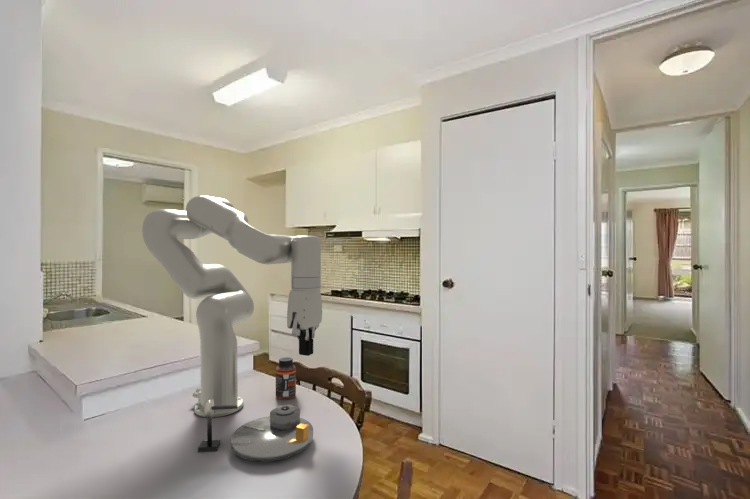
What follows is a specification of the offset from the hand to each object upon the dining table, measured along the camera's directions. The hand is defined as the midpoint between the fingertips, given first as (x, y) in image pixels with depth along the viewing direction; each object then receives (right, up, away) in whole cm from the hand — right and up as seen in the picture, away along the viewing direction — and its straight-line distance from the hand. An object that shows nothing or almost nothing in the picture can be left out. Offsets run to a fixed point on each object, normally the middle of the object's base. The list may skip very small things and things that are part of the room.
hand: (306, 354), depth 101 cm
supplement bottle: (-9, -17, +15) cm, 25 cm away
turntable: (-5, -16, -12) cm, 21 cm away
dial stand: (-17, -17, -14) cm, 28 cm away
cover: (-4, -15, -8) cm, 17 cm away
